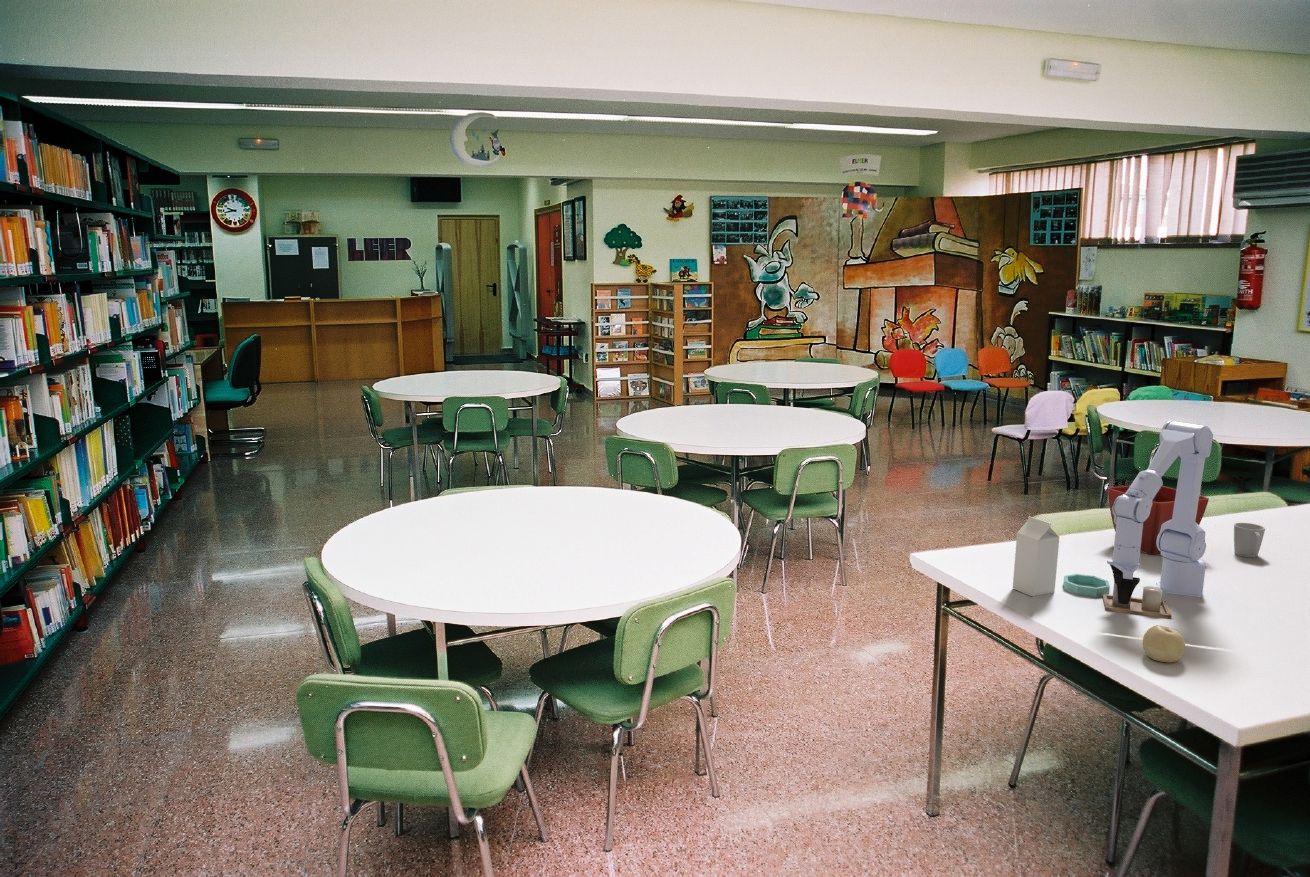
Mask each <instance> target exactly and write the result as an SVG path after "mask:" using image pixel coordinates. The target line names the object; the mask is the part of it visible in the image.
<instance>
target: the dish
mask: <svg viewBox="0 0 1310 877" xmlns="http://www.w3.org/2000/svg"><path fill="white" fill-rule="evenodd" d="M1063 590H1065V591H1067V592H1070V593H1073V594H1075V595H1078V596H1086V597H1094V598H1097V597H1098V598H1099V597H1102V594H1108V595H1110V590H1111V589H1110V583H1109V580H1107V579H1103V578H1101V577H1099V576H1095V575H1090V574H1081V573H1072V574H1068V575H1064V576H1063Z"/></svg>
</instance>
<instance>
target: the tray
mask: <svg viewBox="0 0 1310 877" xmlns="http://www.w3.org/2000/svg"><path fill="white" fill-rule="evenodd" d="M1101 598H1102V600H1103V601H1102V602H1103V605H1104V610H1105V611H1109V612H1116V613H1125V614H1133V615H1141V616H1147V617H1154V618H1155V617H1156V618H1164V619H1172V613H1171V610H1170V609H1169V605H1168V603H1167V602H1166V601H1165V600H1161V606H1160V611H1159V612H1150V611H1146V610H1143V609H1142V608H1141V605H1142V597H1140V598H1139V597H1132V596H1131V605H1130V608H1119V607H1115V606H1113V605H1112V599H1113V594H1109V595H1108V594H1102V596H1101Z"/></svg>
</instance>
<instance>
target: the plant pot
mask: <svg viewBox="0 0 1310 877" xmlns="http://www.w3.org/2000/svg"><path fill="white" fill-rule="evenodd" d="M1130 486H1131V485H1126V486H1115V487H1114V486H1112V487H1108V490H1107V491H1108V493H1107V494H1108V503H1109V510H1110V515H1111V522H1112V525H1113V528H1114V532H1115V531H1116V524H1115V522H1114V515H1113V512H1112V506H1113V505H1114V502H1115V500H1116V498H1117V497H1118V496H1121V495H1123V494H1125V493H1126V492H1127V490H1128V489H1129V487H1130ZM1176 490H1177V488H1172V487H1168V486H1164V485H1162V486H1161V488H1160V489H1159V491H1158V492H1157V494H1156V495H1155V497H1154V498H1153V500H1152V503H1153V504H1152V507H1151V511H1150V514H1149V517H1148V518H1147V519H1146V520H1145V521H1144V522H1143V530H1142V539H1141V549H1140V553H1144V554H1148V555H1151V556H1158V555H1160V554H1161V551H1159V550H1158V548H1157V544H1156V541H1157V537H1158V534H1159V532H1160V530H1161V525H1162V524H1163V523H1165V522H1167V521H1169V520H1171V519H1172V516H1173V509H1174V503H1175V497H1176ZM1209 500H1210V499H1209V497H1207V496H1202V495H1199V500H1198V507H1197V513H1196V519H1195V522H1196V523H1197V524H1198V525H1199V526H1200V524H1201V522H1202V519H1203V517H1204V514H1205V512H1206V509H1207V506H1208V503H1209Z"/></svg>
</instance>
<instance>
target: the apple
mask: <svg viewBox="0 0 1310 877" xmlns="http://www.w3.org/2000/svg"><path fill="white" fill-rule="evenodd" d="M1142 638H1143V639H1142V648H1143V650H1144V652H1145V654H1146V655H1147V656H1148V658H1150V659H1152V660H1154V661H1157V662H1162V663H1174V662H1177V661H1179V660H1180V659H1181V658H1182V657H1183V656H1184V654H1185V652H1186V651H1185V650H1186V642H1185V639H1184V636H1183V635H1182V634H1181V632H1179V631H1177V630H1175V629H1174V628H1171V627H1169V626H1165V625H1161V624H1160V625H1159V624H1156V625H1153V626H1151V627H1150V628H1148V629H1147V630H1146V631H1145V633H1144V635H1143V637H1142Z"/></svg>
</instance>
